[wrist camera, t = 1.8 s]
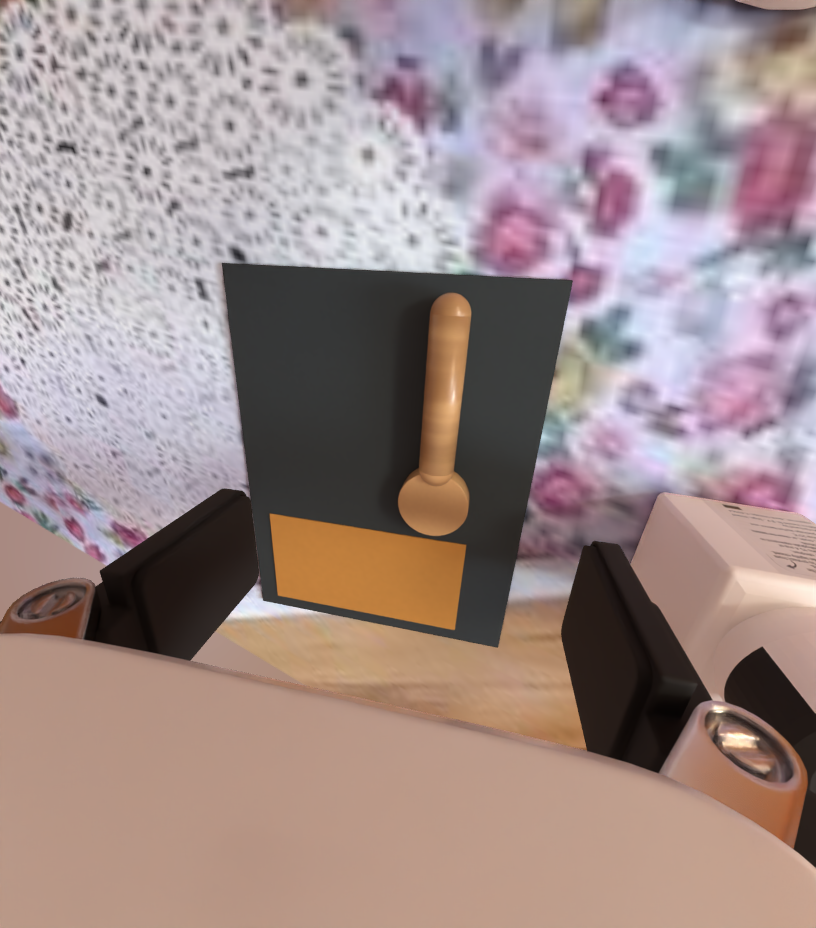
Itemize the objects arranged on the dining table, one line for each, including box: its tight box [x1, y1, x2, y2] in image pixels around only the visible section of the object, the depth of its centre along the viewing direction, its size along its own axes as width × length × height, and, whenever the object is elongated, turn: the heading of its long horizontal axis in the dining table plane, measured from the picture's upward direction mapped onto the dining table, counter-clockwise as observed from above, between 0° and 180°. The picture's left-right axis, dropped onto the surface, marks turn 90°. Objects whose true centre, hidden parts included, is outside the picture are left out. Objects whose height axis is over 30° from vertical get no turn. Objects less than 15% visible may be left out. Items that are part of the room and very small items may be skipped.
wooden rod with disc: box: [398, 292, 471, 536], centre depth 23 cm, size 15×5×2 cm, turn 177°
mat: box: [222, 263, 573, 648], centre depth 27 cm, size 26×20×1 cm
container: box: [630, 492, 816, 794], centre depth 18 cm, size 8×8×13 cm
